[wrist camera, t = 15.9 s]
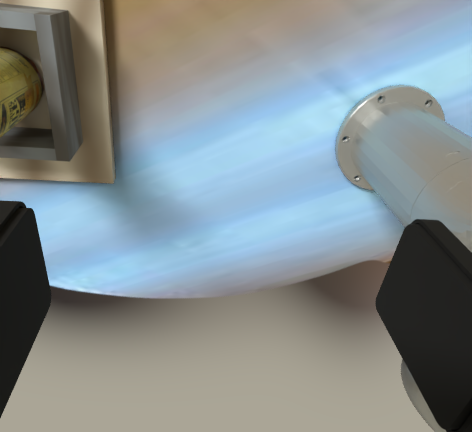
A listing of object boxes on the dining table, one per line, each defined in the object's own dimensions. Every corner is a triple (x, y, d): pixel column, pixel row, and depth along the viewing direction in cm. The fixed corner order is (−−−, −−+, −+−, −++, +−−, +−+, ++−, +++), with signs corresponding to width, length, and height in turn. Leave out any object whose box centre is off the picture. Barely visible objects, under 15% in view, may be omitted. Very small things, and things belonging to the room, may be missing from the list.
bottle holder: (99, -51, 33) (80, -55, 27) (115, 177, 44) (104, 206, 39) (-119, -78, 31) (-187, -89, 25) (-42, 169, 42) (-78, 198, 37)
